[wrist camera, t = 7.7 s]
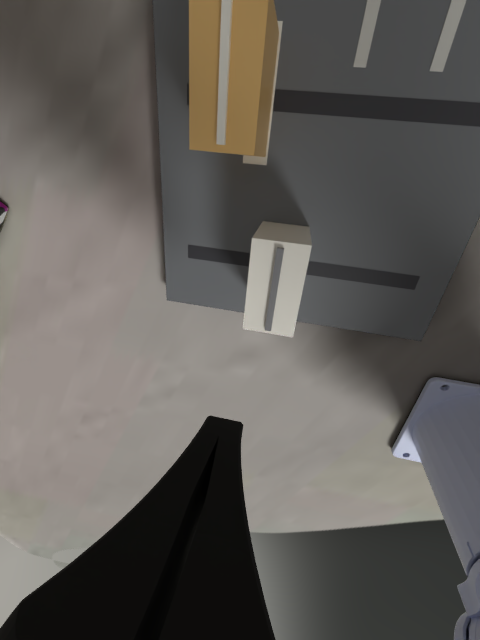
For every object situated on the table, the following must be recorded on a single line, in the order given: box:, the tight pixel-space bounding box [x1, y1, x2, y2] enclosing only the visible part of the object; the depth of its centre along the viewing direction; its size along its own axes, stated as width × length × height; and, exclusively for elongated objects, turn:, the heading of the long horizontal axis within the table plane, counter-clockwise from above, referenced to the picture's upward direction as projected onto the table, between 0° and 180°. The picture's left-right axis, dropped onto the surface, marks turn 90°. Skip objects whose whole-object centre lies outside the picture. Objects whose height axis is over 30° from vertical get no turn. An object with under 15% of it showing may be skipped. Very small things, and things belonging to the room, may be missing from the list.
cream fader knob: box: [243, 221, 312, 337], centre depth 15 cm, size 2×4×4 cm, turn 175°
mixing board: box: [153, 0, 480, 341], centre depth 15 cm, size 16×15×1 cm
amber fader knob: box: [189, 0, 279, 157], centre depth 11 cm, size 2×4×4 cm, turn 175°
